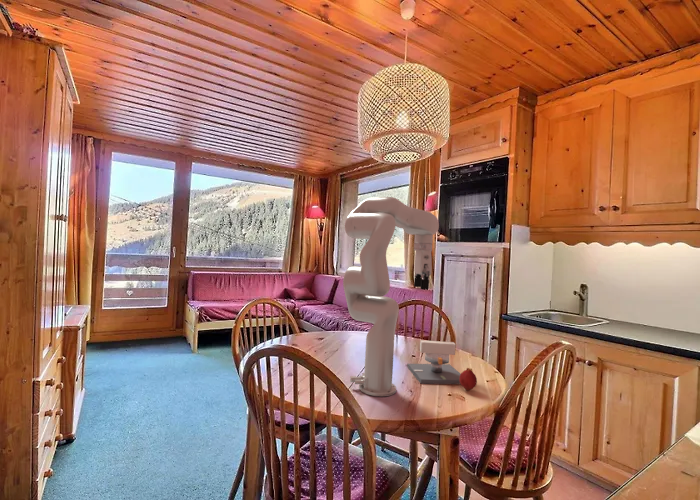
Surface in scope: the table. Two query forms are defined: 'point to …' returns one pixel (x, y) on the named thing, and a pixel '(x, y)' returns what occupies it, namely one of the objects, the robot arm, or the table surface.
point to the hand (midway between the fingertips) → (421, 288)
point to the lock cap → (437, 351)
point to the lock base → (435, 373)
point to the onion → (468, 379)
